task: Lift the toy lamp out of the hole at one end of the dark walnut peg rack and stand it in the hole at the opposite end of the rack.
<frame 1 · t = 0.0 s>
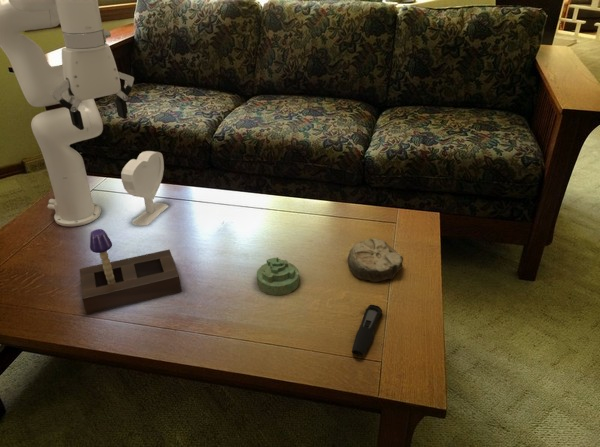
hand: (101, 122, 111), 37 cm above the table, tool pointing down, fingers open, 9 cm apart
electric trimmer: (367, 334, 109), on the table
toy lamp: (112, 292, 121), resting in rack
decorative artifact: (278, 282, 125), on the table
rack: (132, 287, 123), on the table
stone: (374, 268, 129), on the table
heart sculpture: (151, 214, 152), on the table
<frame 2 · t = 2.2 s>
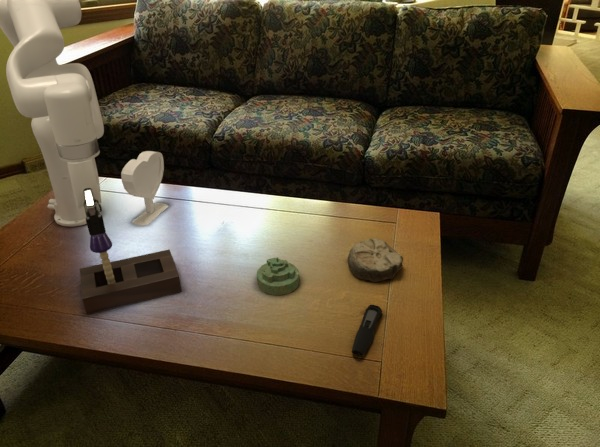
hand: (96, 222, 111), 19 cm above the table, tool pointing down, fingers open, 9 cm apart
nothing on the table moved.
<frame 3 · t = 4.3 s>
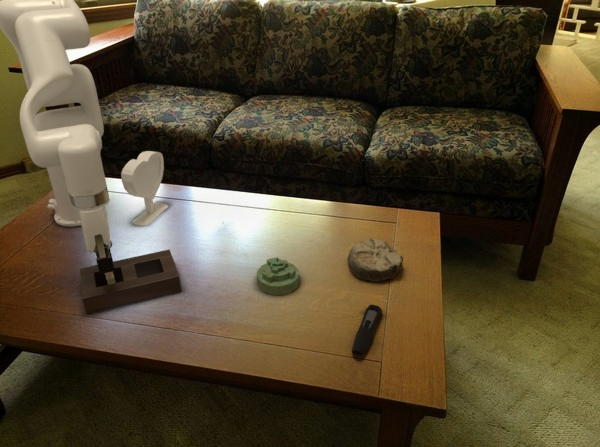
hand: (106, 267, 117), 7 cm above the table, tool pointing down, fingers closed on toy lamp, 2 cm apart
toy lamp: (112, 292, 121), resting in rack, touching gripper
everything else where it was.
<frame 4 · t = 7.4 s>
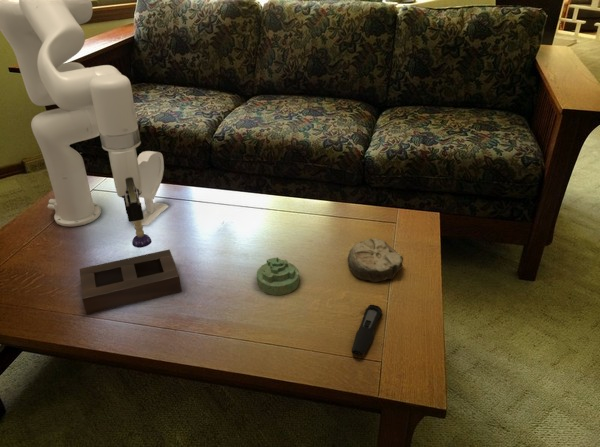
hand: (135, 215, 114), 19 cm above the table, tool pointing down, fingers closed on toy lamp, 2 cm apart
toy lamp: (140, 244, 118), point 11 cm above the table, touching gripper
everything else where it was.
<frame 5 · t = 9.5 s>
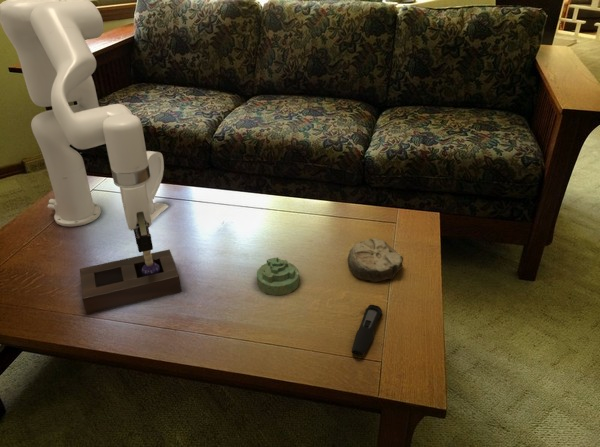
hand: (144, 246, 119), 11 cm above the table, tool pointing down, fingers closed on toy lamp, 2 cm apart
toy lamp: (149, 272, 122), point 3 cm above the table, touching gripper
everything else where it was.
when the fingers open (7 cm above the table, at t = 10.8 s): toy lamp stays where it is, resting in rack.
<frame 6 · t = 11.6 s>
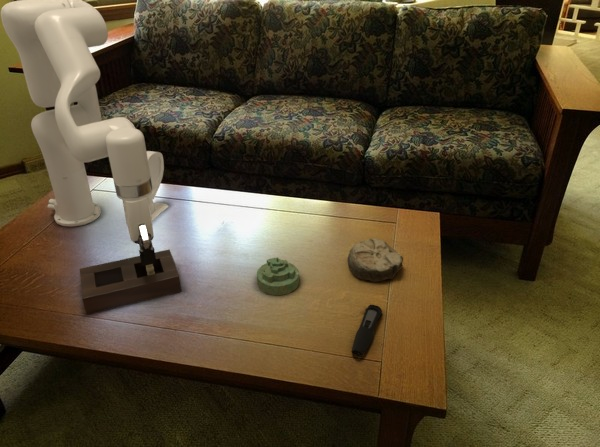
hand: (145, 252, 120), 9 cm above the table, tool pointing down, fingers open, 9 cm apart
toy lamp: (151, 283, 124), resting in rack
everything else where it was.
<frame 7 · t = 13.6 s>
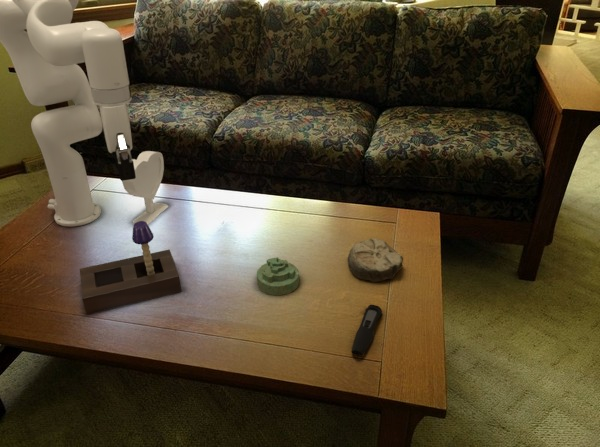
hand: (125, 169, 114), 27 cm above the table, tool pointing down, fingers open, 9 cm apart
nothing on the table moved.
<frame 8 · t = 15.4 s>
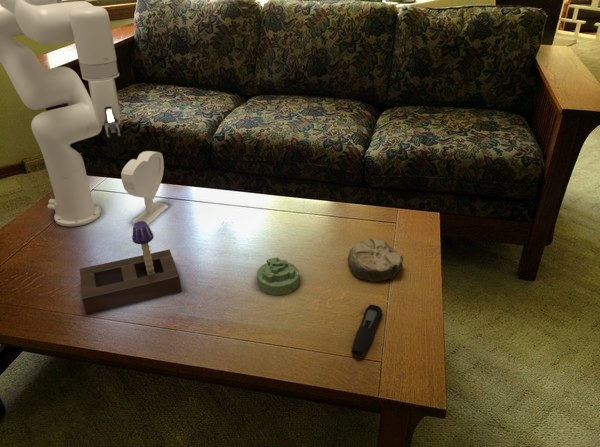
hand: (114, 144, 119), 30 cm above the table, tool pointing down, fingers open, 9 cm apart
nothing on the table moved.
at the end: toy lamp 0.1 cm from the target spot in the rack, point 0.0 cm above the rack's base; toy lamp tilted 0°; the gripper is holding nothing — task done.
